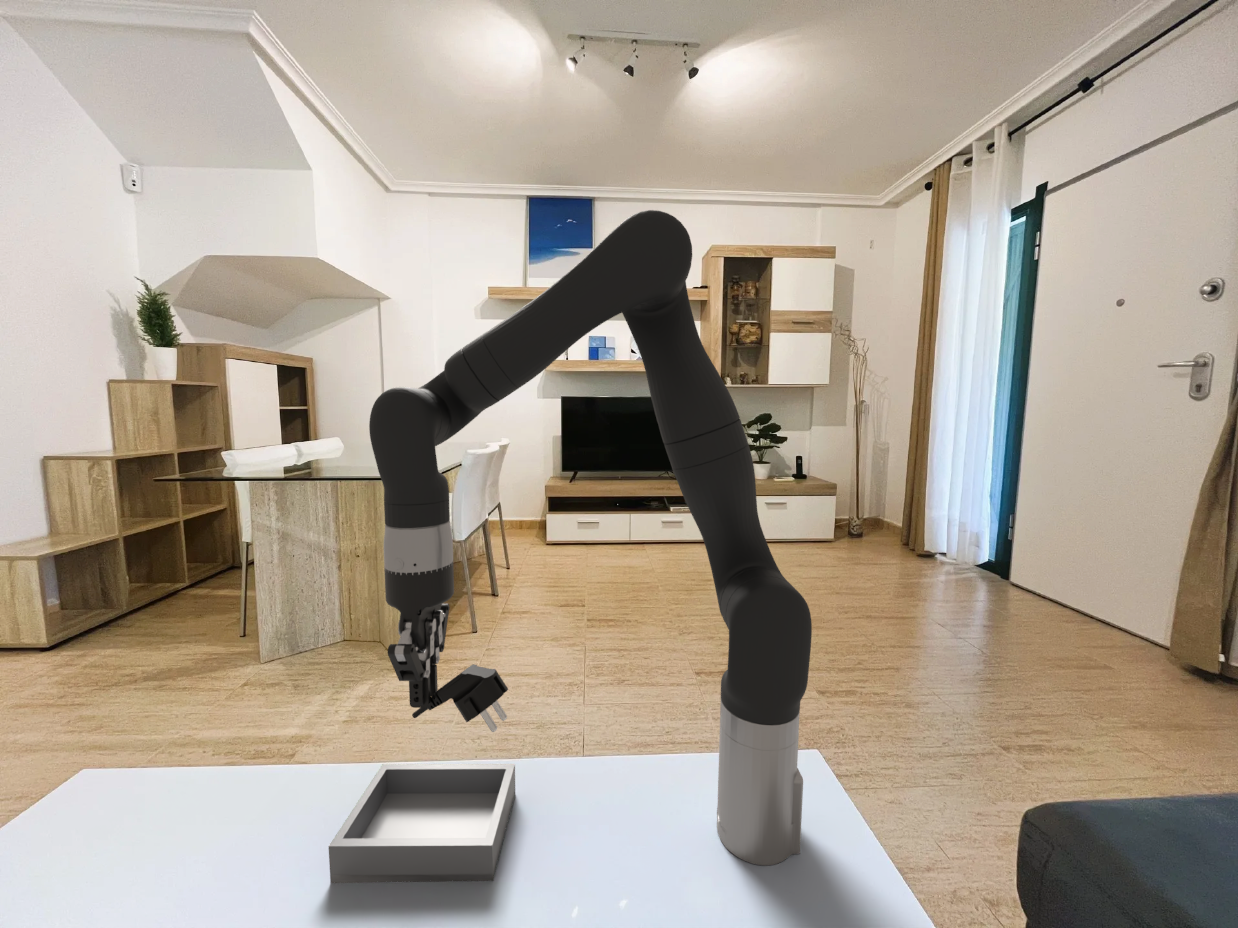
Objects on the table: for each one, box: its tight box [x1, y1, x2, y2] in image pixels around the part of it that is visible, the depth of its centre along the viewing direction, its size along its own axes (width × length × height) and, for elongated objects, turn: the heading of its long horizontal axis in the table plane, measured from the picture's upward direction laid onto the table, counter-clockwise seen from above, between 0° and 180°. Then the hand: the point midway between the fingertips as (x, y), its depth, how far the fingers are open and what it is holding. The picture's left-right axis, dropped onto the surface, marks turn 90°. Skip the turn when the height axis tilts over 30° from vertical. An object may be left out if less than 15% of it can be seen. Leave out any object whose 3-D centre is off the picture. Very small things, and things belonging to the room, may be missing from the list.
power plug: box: [412, 664, 509, 733], centre depth 60 cm, size 6×8×12 cm
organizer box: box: [328, 763, 516, 884], centre depth 62 cm, size 18×13×4 cm
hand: (424, 699), depth 61 cm, fingers closed on power plug, 2 cm apart
